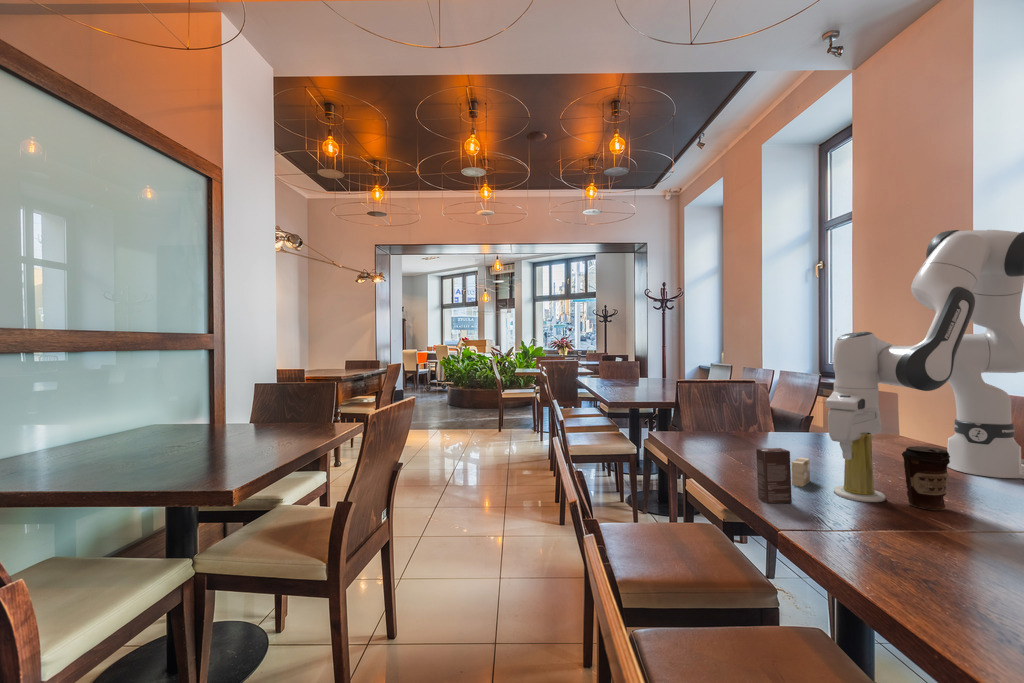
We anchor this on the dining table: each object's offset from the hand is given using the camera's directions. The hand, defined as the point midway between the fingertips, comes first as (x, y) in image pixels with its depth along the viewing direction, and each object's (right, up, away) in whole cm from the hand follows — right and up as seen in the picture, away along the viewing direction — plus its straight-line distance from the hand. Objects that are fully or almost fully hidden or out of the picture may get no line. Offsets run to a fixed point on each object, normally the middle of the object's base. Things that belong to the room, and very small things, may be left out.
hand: (856, 455), depth 114 cm
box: (-22, -10, -4) cm, 25 cm away
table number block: (-7, -10, +10) cm, 16 cm away
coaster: (0, -9, -1) cm, 9 cm away
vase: (0, -9, -1) cm, 9 cm away
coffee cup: (+9, -9, -9) cm, 16 cm away
